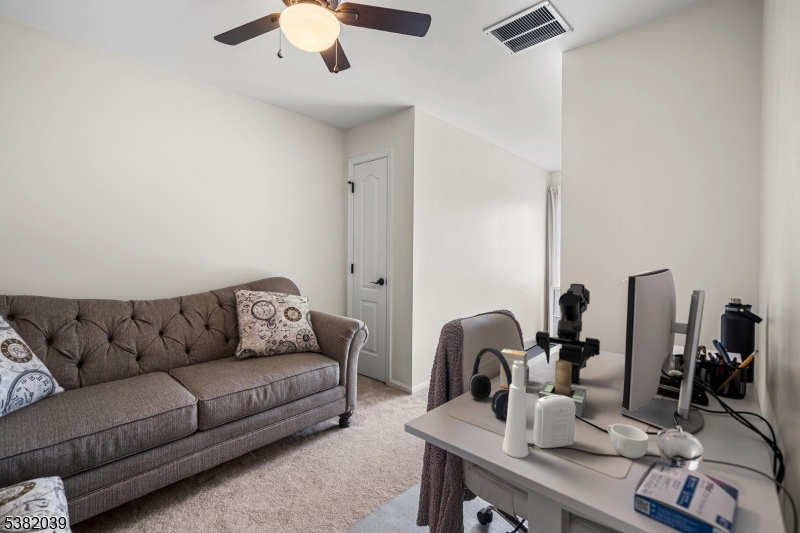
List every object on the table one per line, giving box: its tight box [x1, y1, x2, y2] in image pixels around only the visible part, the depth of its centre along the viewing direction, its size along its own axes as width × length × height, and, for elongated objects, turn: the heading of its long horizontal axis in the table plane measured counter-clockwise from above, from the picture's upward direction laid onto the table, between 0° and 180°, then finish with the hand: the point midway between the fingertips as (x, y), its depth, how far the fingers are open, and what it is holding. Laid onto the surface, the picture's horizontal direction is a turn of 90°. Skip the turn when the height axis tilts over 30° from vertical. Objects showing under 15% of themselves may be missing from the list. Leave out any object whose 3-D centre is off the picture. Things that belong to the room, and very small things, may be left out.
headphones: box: [468, 347, 512, 419], centre depth 109 cm, size 20×7×18 cm, turn 18°
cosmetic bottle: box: [501, 360, 529, 459], centre depth 85 cm, size 6×6×22 cm
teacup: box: [606, 423, 649, 460], centre depth 87 cm, size 10×8×5 cm
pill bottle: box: [526, 364, 530, 385], centre depth 131 cm, size 5×5×9 cm
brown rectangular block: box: [554, 359, 572, 398], centre depth 112 cm, size 5×5×13 cm
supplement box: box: [499, 348, 528, 390], centre depth 126 cm, size 8×5×13 cm, turn 58°
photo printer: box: [532, 395, 576, 449], centre depth 89 cm, size 10×4×12 cm, turn 103°
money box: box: [538, 381, 587, 419], centre depth 112 cm, size 12×12×4 cm
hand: (563, 365), depth 111 cm, fingers open, 9 cm apart
